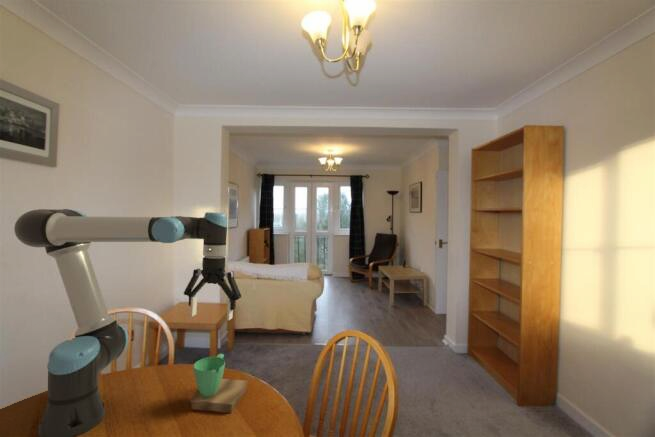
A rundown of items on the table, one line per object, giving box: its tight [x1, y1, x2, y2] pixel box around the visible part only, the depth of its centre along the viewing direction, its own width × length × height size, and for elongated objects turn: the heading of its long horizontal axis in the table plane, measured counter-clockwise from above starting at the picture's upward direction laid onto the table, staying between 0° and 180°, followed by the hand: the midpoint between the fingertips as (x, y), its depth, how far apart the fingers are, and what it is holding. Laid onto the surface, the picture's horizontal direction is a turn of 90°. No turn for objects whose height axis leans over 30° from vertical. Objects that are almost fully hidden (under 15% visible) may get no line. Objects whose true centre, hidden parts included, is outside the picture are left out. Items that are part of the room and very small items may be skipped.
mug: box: [193, 353, 226, 398], centre depth 106 cm, size 15×10×10 cm
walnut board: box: [189, 378, 249, 414], centre depth 106 cm, size 14×14×3 cm
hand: (211, 317), depth 109 cm, fingers open, 13 cm apart
